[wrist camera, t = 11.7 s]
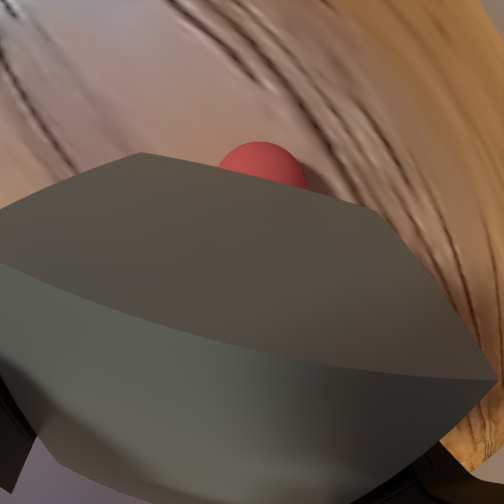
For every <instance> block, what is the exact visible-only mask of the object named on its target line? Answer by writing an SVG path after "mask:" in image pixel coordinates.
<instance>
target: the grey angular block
mask: <svg viewBox="0 0 504 504" xmlns="http://www.w3.org/2000/svg"><path fill="white" fill-rule="evenodd" d="M0 375H1V377H2V379H3V381H4V383H5V384H6V386H7V388H8V390H9V392H10V393H11V395H12V397H13V399H14V400H15V402H16V404H17V405H18V407H19V409H20V410H21V412H22V413H23V415H24V416H25V418H26V420H27V421H28V423H29V424H30V426H31V427H32V429H33V430H34V431H35V433H36V434H37V436H38V437H39V438H40V440H41V441H42V443H43V444H44V445H45V446H46V448H47V449H48V451H49V452H50V453H51V454H52V456H53V457H54V458H55V459H56V461H57V462H58V463H60V464H61V465H63V466H65V467H67V468H69V469H71V470H73V471H75V472H77V473H79V474H81V475H83V476H85V477H87V478H89V479H91V480H93V481H95V482H98V483H100V484H102V485H105V486H107V487H109V488H112V489H114V490H117V491H119V492H122V493H124V494H127V495H130V496H132V497H135V498H138V499H141V500H144V501H147V502H150V503H153V504H350V503H352V502H353V501H355V500H357V499H359V498H360V497H362V496H364V495H365V494H367V493H369V492H370V491H372V490H373V489H375V488H377V487H378V486H380V485H381V484H383V483H384V482H386V481H387V480H389V479H390V478H392V477H393V476H395V475H396V474H397V473H399V472H400V471H402V470H403V469H404V468H406V467H407V466H408V465H410V464H411V463H412V462H414V461H415V460H416V459H417V458H419V457H420V456H421V455H423V454H424V453H425V452H426V451H427V450H429V449H430V448H431V447H432V446H433V445H435V444H436V443H437V442H438V441H439V440H440V439H442V438H443V437H444V436H445V435H446V434H447V433H448V432H449V431H450V430H451V429H453V428H454V427H455V426H456V425H457V424H458V423H459V422H460V421H461V420H462V419H463V418H464V417H465V416H466V415H467V414H468V413H469V412H470V411H471V410H472V409H473V408H474V407H475V406H476V405H477V404H478V403H479V401H480V400H481V399H482V398H483V397H484V396H485V395H486V394H487V393H488V391H489V390H490V389H491V388H492V387H493V386H494V385H495V383H496V382H497V381H498V378H497V376H496V375H495V373H494V371H493V369H492V367H491V366H490V364H489V362H488V361H487V359H486V357H485V356H484V354H483V352H482V351H481V349H480V347H479V346H478V344H477V342H476V341H475V339H474V338H473V336H472V335H471V333H470V332H469V330H468V328H467V327H466V325H465V324H464V322H463V321H462V319H461V318H460V316H459V315H458V314H457V312H456V311H455V309H454V308H453V306H452V305H451V303H450V302H449V301H448V299H447V298H446V296H445V295H444V294H443V292H442V291H441V290H440V288H439V287H438V286H437V284H436V283H435V282H434V280H433V279H432V278H431V276H430V275H429V274H428V272H427V271H426V270H425V268H424V267H423V266H422V265H421V263H420V262H419V261H418V260H417V258H416V257H415V256H414V255H413V253H412V252H411V251H410V250H409V249H408V247H407V246H406V245H405V244H404V242H403V241H402V240H401V239H400V238H399V237H398V235H397V234H396V233H395V232H394V231H393V230H392V228H391V227H390V226H389V225H388V224H387V223H386V222H385V220H384V219H383V218H382V217H381V216H380V215H379V214H378V213H377V211H374V210H371V209H368V208H365V207H362V206H359V205H356V204H353V203H349V202H346V201H343V200H340V199H336V198H333V197H330V196H326V195H323V194H320V193H316V192H313V191H309V190H306V189H302V188H298V187H295V186H291V185H287V184H284V183H280V182H276V181H272V180H268V179H264V178H260V177H256V176H252V175H248V174H244V173H240V172H236V171H232V170H227V169H223V168H218V167H214V166H209V165H205V164H200V163H195V162H190V161H186V160H181V159H175V158H170V157H165V156H160V155H154V154H149V153H143V152H140V153H137V154H134V155H131V156H128V157H125V158H122V159H119V160H116V161H113V162H110V163H107V164H104V165H102V166H99V167H96V168H93V169H91V170H88V171H85V172H83V173H80V174H78V175H75V176H73V177H70V178H68V179H65V180H63V181H60V182H58V183H56V184H53V185H51V186H49V187H46V188H44V189H42V190H40V191H38V192H35V193H33V194H31V195H29V196H27V197H25V198H23V199H20V200H18V201H16V202H14V203H12V204H10V205H8V206H6V207H4V208H2V209H1V210H0Z"/></svg>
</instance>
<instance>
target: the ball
mask: <svg viewBox="0 0 504 504" xmlns="http://www.w3.org/2000/svg"><path fill="white" fill-rule="evenodd" d="M218 168H223V169H227V170H232V171H236V172H240V173H244V174H248V175H252V176H256V177H260V178H264V179H268V180H272V181H276V182H280V183H284V184H287V185H291V186H295V187H298V188H302V189H305V179H304V175H303V172H302V169H301V167H300V165H299V163H298V162H297V161H296V159H295V158H294V157H293V156H292V155H291V154H290V153H289V152H288V151H287V150H285V149H283V148H282V147H280V146H278V145H275V144H272V143H268V142H251V143H247V144H244V145H241V146H239V147H237V148H235V149H234V150H232V151H231V152H230V153H229V154H228V155H226V157H225V158H224V159H223V160H222V162H221V163H220V165H219V166H218Z"/></svg>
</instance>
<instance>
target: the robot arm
mask: <svg viewBox="0 0 504 504" xmlns="http://www.w3.org/2000/svg"><path fill="white" fill-rule="evenodd" d="M36 437H37V434H36V433H35V431H34V430H33V429H32V427H31V426H30V424H29V423H28V421H27V420H26V418H25V416H24V415H23V413H22V412H21V410H20V409H19V407H18V405H17V404H16V402H15V400H14V399H13V397H12V395H11V393H10V392H9V390H8V388H7V386H6V384H5V383H4V381H3V379H2V377H1V375H0V487H1V488H3V489H4V490H6V491H7V492H9V493H10V494H11V493H12V492H13V490H14V487H15V485H16V482H17V480H18V477H19V475H20V473H21V470H22V468H23V466H24V463H25V461H26V459H27V457H28V454H29V452H30V450H31V448H32V444H33V443H34V441H35V439H36ZM350 504H504V484H499V483H493V482H488V481H483V480H480V479H478V478H476V477H474V476H473V475H471V474H470V473H469V472H468V471H467V470H466V469H465V468H464V467H463V466H462V465H461V464H460V463H459V462H458V461H457V460H456V459H455V458H454V456H453V455H452V454H451V453H450V452H449V451H448V450H447V449H446V448H445V447H444V446H443V445H442V444H441V443H440V442H439V441H438V442H437V443H436V444H435V445H433V446H432V447H431V448H430V449H429V450H427V451H426V452H425V453H424V454H423V455H421V456H420V457H419V458H417V459H416V460H415V461H414V462H412V463H411V464H410V465H408V466H407V467H406V468H404V469H403V470H402V471H400V472H399V473H397V474H396V475H395V476H393V477H392V478H390V479H389V480H387V481H386V482H384V483H383V484H381V485H380V486H378V487H377V488H375V489H373V490H372V491H370V492H369V493H367V494H365V495H364V496H362V497H360V498H359V499H357V500H355V501H353V502H352V503H350Z"/></svg>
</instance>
